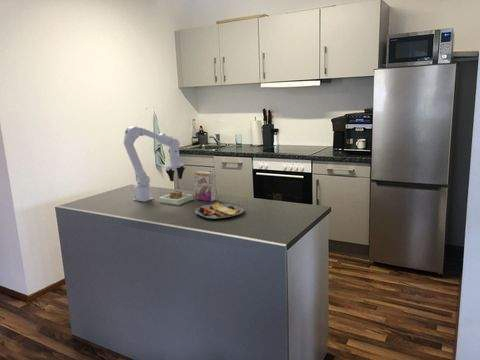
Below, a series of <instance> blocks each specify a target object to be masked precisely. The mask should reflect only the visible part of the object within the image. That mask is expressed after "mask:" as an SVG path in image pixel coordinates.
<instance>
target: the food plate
mask: <svg viewBox="0 0 480 360" xmlns="http://www.w3.org/2000/svg"><path fill="white" fill-rule="evenodd" d="M244 211H245V210H244V208H243V207H241V206H240V205H237V204H232V203H231V204H230V203H220V202H219V201H216V202H214V203H210V204H205V205H200V206H198V207H197V208H196V209H194V214H196V215H199V216H202V218H206V219H225V218H231V217H234V216H237V215H241V214H242V213H243V212H244Z"/></svg>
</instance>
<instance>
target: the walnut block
mask: <svg viewBox="0 0 480 360" xmlns="http://www.w3.org/2000/svg"><path fill="white" fill-rule="evenodd" d="M182 193H183V191H182V190H173V191H170V192H169V194H170V199H176V200H178V199H181V198H182Z"/></svg>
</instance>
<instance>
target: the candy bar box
mask: <svg viewBox="0 0 480 360" xmlns="http://www.w3.org/2000/svg"><path fill="white" fill-rule="evenodd" d="M215 175H216V174H215V172H210V171H200V170H199V171H195V172H194V180H195V181H194V183H195V184H194V186H195V185H196V197H195V198H196V199H195V200H198V201H206V202H213V201H216V196H217V195H216V179H215V177H216V176H215Z"/></svg>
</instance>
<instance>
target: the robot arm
mask: <svg viewBox="0 0 480 360" xmlns="http://www.w3.org/2000/svg"><path fill="white" fill-rule="evenodd" d="M140 136H141V137H143V136H146V137H149V138H151V139H154V140H156V141H157V143H158V144H161V145H164V146H167V147H168V148H169V150H168V151H169V166H166V167H165V172H166V174H167V176H168V178H169V180H170V182H174V181H175V170H174V169H176V170H177V171H176V172H177V178H178V180H182V179H183V174H184V171H185V169H186V167H185V163H180V146H181V142H180V141H179V140H178V139H177V138H174V137H173V136H169V135H166V133H164V132H163V133H156V132H154V131H151V130H149V129H146V128H143V127H138V126H133V125H129V126H128V127H127V128H126V129H125V131H124V137H123V146H124V148H125V150H126V153H127V154H128V158H129V160H130V162H131V165H132V167H133V170H134V174H135V181H136V182H137V184H135V185H134V187H133V199H132V200H133V201H138V202H149V201H150V200H153V199H154V197H151V189H150V188H151V187H150V186H151V185H150V184H151V183H150V182H151V178H150V176H148V175H147V172H146V171H145V169H144V167H143V165H142V162H141V160H140V158H139V155H138V153H137V150H136V148H135V146H134V144H135V142H136V140H137V139H138V138H139V137H140Z"/></svg>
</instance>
